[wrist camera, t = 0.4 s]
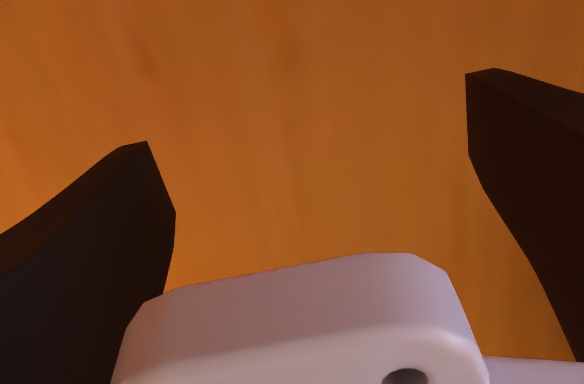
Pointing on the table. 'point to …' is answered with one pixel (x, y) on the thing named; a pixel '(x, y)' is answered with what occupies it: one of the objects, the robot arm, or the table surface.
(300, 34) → the table surface
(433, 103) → the table surface
